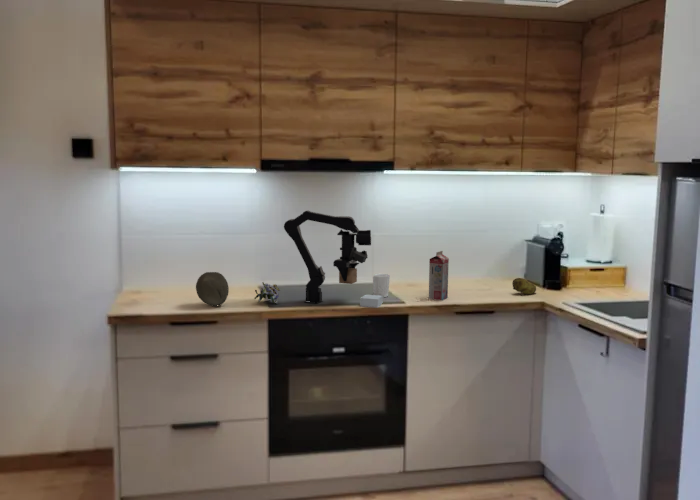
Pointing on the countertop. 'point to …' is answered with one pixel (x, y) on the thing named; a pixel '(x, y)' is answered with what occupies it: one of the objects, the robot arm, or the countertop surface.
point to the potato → (523, 286)
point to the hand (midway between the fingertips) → (347, 279)
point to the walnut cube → (349, 276)
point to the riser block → (371, 301)
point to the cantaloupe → (212, 288)
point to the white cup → (381, 284)
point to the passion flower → (268, 292)
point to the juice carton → (438, 277)
